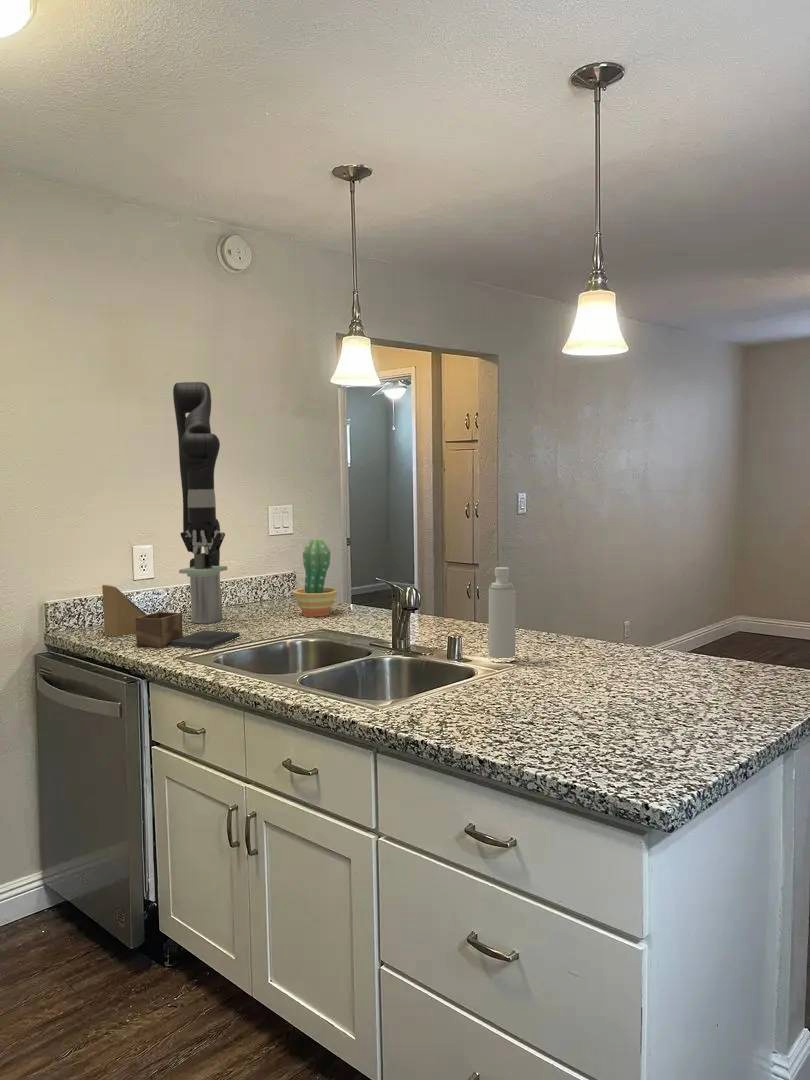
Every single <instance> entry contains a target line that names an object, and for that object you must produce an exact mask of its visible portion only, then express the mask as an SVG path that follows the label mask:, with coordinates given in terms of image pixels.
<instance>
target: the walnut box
mask: <svg viewBox="0 0 810 1080" xmlns="http://www.w3.org/2000/svg"><path fill="white" fill-rule="evenodd" d="M135 637H136V638H135V641H136V647H137V646H139V648H148V647H153V648H152V649H160V648H161V649H164V648H166V647H165V646H167V647H169V646H168V645H170V646H171V642H170V641H172V640H175V639H179V638H182V637H184V636H183V613H182V612H168V611H167V612H166V611H165V612H164V611H157V612H153V613H149V614H146V615H144V616H141V617H137V618H136V635H135ZM163 647H164V648H163Z"/></svg>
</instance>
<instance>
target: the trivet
mask: <svg viewBox="0 0 810 1080" xmlns="http://www.w3.org/2000/svg"><path fill="white" fill-rule="evenodd" d="M237 637H240V632H235V631H234V632H233V631H220V630H209V629H207V630H206V629H204V630H200V631H198V632H194V633H191V634H188V635H186V636H183V637H182V638H179V639H175V640H172V641H170V642H171V645H170V647H171V646H179V647H178V648H183V647H190V648H189V649H195V648H200V649H199V650H210V648H211V649H213V648H216V647H218V646H217V645H219V646H221V645H220V644H222V643H224V644H226V643H225V642H227V641H230V640H232V639H235V638H237ZM235 640H236V639H235ZM232 641H233V640H232ZM230 642H231V641H230ZM227 643H228V642H227ZM222 645H223V644H222ZM215 646H216V647H215ZM212 647H213V648H212Z"/></svg>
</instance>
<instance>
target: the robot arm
mask: <svg viewBox="0 0 810 1080" xmlns="http://www.w3.org/2000/svg"><path fill="white" fill-rule="evenodd" d="M172 391H173V392H172V396H173V405H174V413H175V421H176V429H177V439H178V457H179V458H178V459H179V472H180V480H181V482H180V484H181V491H182V492H181V493H182V511H183V512H182V532H180V533H179V535H180V537H181V539H182V541H183V543H184V546H185V548H186V550H187V552H188V553H192V554H193V555H195V554H201V553H203V552H202V551H203V550H202V549H204V553H205V554H206V555H205V568H211V566H221V565H220V561H221V559H220V557H221V555H220V551H221V550H220V549H221V546H222V545H223V541H224V540H225V536H226V533H225V532H221V526H220V525H221V524H220V521H219V520H218V518H217V510H216V509H217V508H216V506H217V505H216V504H217V503H216V493H215V468H216V462H217V459H218V455H219V453H220V452H219V451H220V447H221V446H220V445H221V444H220V439H219V438H218V435H216V434H214V433H212V430H211V423H210V422H211V421H210V419H211V414H212V413H211V412H212V395H211V389H210V386H209V385H208V384H207V383H206V382H202V381H192V382H189V381H188V382H184V381H183V382H176V383H175V384H174V385H173V389H172ZM187 414H188V415H187ZM191 567H195V563H194V557H193V558H191V559H189V568H191ZM189 579H190V582H189V585H190V588H189V589H190V613H191V623H194V624H211V623H212V624H213V623H214V624H215V623H219V622H220V621H222V620H223V595H222V593H223V591H222V590H221V573H220V574H217V575H212V576H208V577H190V578H189Z"/></svg>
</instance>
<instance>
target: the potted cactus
mask: <svg viewBox="0 0 810 1080" xmlns="http://www.w3.org/2000/svg"><path fill="white" fill-rule="evenodd" d="M302 558H303V559H302V561H303V562H302V563H303V568H304V571H305V577H304V588H303V587H302V588H297V589H293V590H292V595H293V597H294V598H295V600H296V603H297V606H298V607H299V609H300V610H301V611H302V616H303V615H304V617H308V616H320V617H324V616H323V615H327V616H329V615H330V612H329V611H330V609H331V608H332V606H333V605H334V602H335V599H336V597H337V596H338V593H339V589H337V588H333V587H325V583H326V576H327V572H328V570H329V568H330V565H331V550H330V548H329V547H328V545H327V543H326V542H325V541H324V539H321V540H320V539H310V540H309V541H308V542H307V544H306V546H305V547H304V549H303V551H302ZM328 614H329V615H328Z"/></svg>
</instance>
